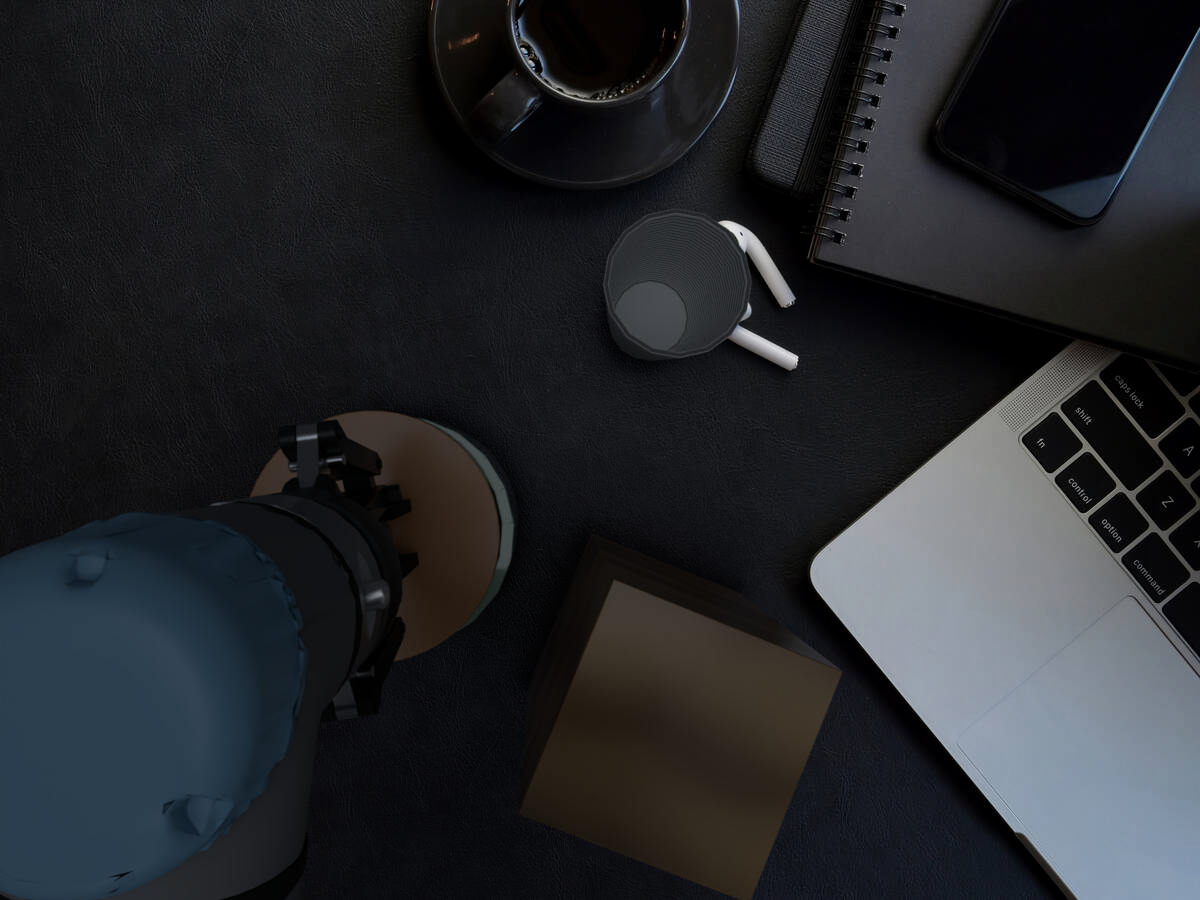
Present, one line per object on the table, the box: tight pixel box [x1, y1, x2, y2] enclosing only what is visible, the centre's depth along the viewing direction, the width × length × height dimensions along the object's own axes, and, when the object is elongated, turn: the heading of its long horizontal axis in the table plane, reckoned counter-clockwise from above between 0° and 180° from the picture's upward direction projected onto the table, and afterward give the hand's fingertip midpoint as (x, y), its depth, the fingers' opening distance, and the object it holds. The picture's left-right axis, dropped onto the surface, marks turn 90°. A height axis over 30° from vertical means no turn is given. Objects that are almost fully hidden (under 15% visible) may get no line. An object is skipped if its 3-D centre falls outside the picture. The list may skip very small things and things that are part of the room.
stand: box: [517, 532, 844, 900], centre depth 56 cm, size 12×12×24 cm
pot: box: [416, 417, 520, 634], centre depth 63 cm, size 15×15×9 cm
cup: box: [602, 207, 753, 362], centre depth 61 cm, size 8×8×16 cm
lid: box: [249, 409, 500, 663], centre depth 54 cm, size 16×16×8 cm
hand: (392, 534), depth 57 cm, fingers closed on lid, 3 cm apart
